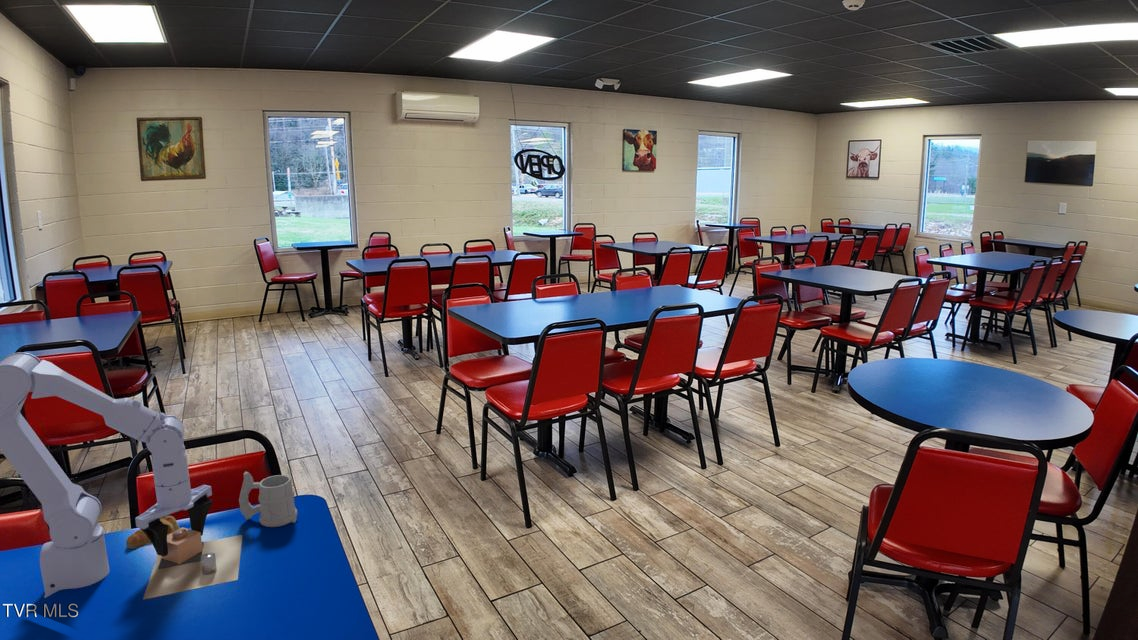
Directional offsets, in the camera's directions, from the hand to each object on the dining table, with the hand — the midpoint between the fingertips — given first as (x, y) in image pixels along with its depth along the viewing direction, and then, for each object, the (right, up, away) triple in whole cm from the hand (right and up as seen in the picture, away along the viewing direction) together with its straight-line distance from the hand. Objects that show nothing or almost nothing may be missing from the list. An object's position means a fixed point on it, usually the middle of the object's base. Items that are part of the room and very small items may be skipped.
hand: (180, 544), depth 129 cm
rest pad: (0, -3, +1) cm, 3 cm away
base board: (+5, -4, -2) cm, 6 cm away
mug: (+11, -1, +15) cm, 18 cm away
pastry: (-10, -2, +9) cm, 13 cm away
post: (+8, -5, -4) cm, 10 cm away
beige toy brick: (0, -2, 0) cm, 2 cm away
